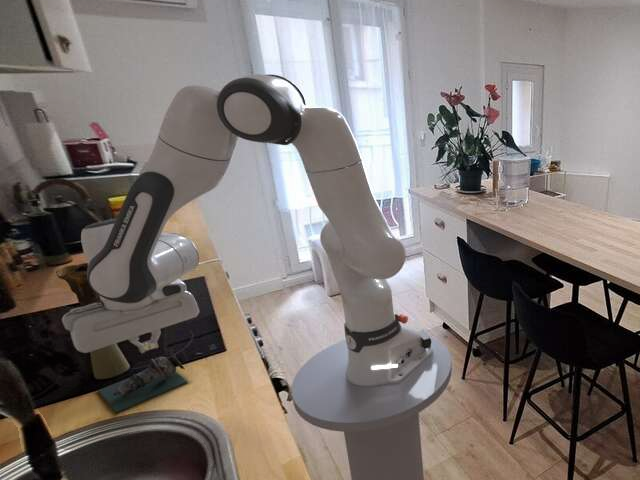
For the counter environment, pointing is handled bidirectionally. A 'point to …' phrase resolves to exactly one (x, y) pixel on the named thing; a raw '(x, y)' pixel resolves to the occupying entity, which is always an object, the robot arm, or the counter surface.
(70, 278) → the pottery vessel
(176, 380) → the felt mat
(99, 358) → the cork
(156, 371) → the grey stone statuette
